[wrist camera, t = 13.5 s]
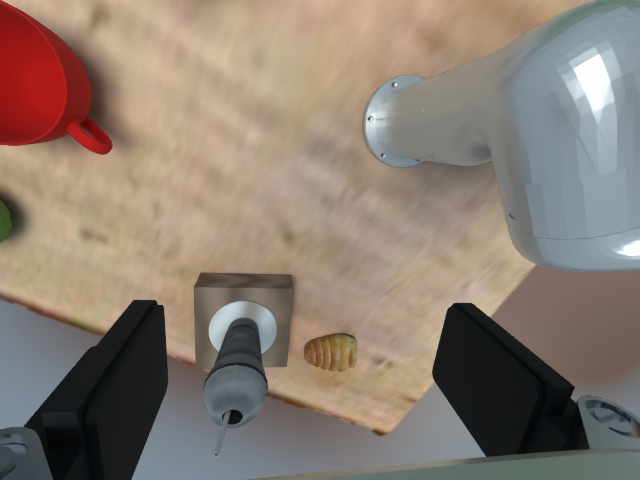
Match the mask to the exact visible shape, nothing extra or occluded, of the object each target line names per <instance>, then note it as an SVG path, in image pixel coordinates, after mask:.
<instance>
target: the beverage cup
mask: <svg viewBox="0 0 640 480" xmlns="http://www.w3.org/2000/svg"><path fill="white" fill-rule="evenodd" d="M267 389H268V384H267V379H266V376H265V372H264V369H263V365H262V355H261V345H260V335H259V330H258V326H257V323H256V322H255V321H254V320H252V319H250V318H245V317H244V318H238V319H235V320H234V321H233V322H231V324H230V325H229V327H228V330H227V331H226V334H225V337H224V339H223V342H222V345H221V348H220V350H219V353H218V356H217V359H216V361H215V364H214V367H213V368H212V369H211V371H210V373H209V375H208V377H207V378H206V380H205V383H204V387H203V392H204V394H203V398H204V405H205V409H206V412H207V413H208V415H209V416H210V418H211V420H213V421H214V422H215V423H216V424H218V425H220V426H222V427H221V430H220V434H219V437H218V441H217V445H216V448H215V452H214V456H215V457H218V456H219V454H220V450H221V446H222V443H223V439H224V435H225V431H226V428H236V427H240V426H243V425H245V424H247V423H248V422H249V421H251V420H252V419H254V417H255V416H256V415H257V414H258V412H259V411H260V410H261V408H262V406H263V403H264V400H265V397H266V392H267Z"/></svg>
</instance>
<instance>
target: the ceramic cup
mask: <svg viewBox="0 0 640 480" xmlns="http://www.w3.org/2000/svg"><path fill="white" fill-rule="evenodd" d="M91 102H92V91H91V84H90V81H89V78H88V75H87V73H86V71H85V69H84V67H83V65H82V63H81V62H80V60H79V59H78V58H77V56H76V55H75V54H74V52H73V51H72V50H71V49H70V47H68V46H67V45H66V44H65V43H64V42H63V41H62V40H61V39H60V38H59V37H58V36H57V35H56V34H55V33H53V32H52V31H51V30H49V29H48V28H47V27H45V26H44V25H42V24H41V23H40V22H38V21H37V20H35V19H34V18H32V17H31V16H29V15H28V14H26V13H24V12H23V11H21V10H19V9H17V8H15V7H13V6H11V5H9V4H7V3H5V2H3V1H2V0H0V145H9V146H19V145H27V144H35V143H42V142H47V141H51V140H54V139H57V138H60V137H63V136H65V135H67V134H70V135H71V136H72V137H73V138H74V139H75V140H76V141H77V142H78V143H80V144H81V145H82V146H84V147H85V148H87V149H89V150H90V151H92V152H95V153H97V154H101V155H104V154H107V153H109V152H110V151H111V149H112V146H113V145H112V141H111V140H110V138H109V137H108V136H107V135H106V134H105V132H104V131H103V130H102V129H101V128H99V127H98V126H97V125H96V124H95V123H94V122H93V121H92V120H91V119H90V118H89V117H88V116H87V115H88V113H89V110H90V107H91ZM80 125H81V126H82V127H83V128H84V129H85V130H86V131H87V132H88V133H90V134H91V135H92V136H93V137H94V138H95V139H94V138H93V137H91V136H90V135H88V134H87V133H86V132H85V131H84V130H82V129H81V127H80Z"/></svg>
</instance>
